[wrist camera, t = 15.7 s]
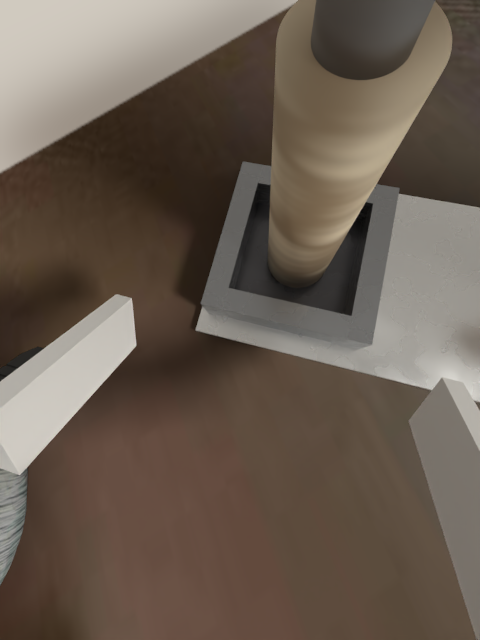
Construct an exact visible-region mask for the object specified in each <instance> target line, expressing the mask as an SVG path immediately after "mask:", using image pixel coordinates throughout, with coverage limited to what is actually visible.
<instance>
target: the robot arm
mask: <svg viewBox="0 0 480 640" xmlns="http://www.w3.org/2000/svg"><path fill="white" fill-rule="evenodd" d="M135 347H136V336H135V325H134V315H133V305H132V298H129V297H125V296H121V295H117V294H116V295H115V296H113V297H112V298H111V299H109V300H108V301H107V302H105V303H104V304H103V305H101V306H100V307H99V308H97V309H96V310H95V311H93V312H92V313H91V314H89V315H88V316H87V317H85V318H84V319H83V320H81V321H80V322H79V323H77V324H76V325H75V326H73V327H72V328H71V329H69V330H68V331H67V332H65V333H64V334H63V335H61V336H60V337H59V338H57V339H56V340H55V341H53V342H52V343H51V344H49V345H48V346H47V347H46V348H41V347H36V348H34V349H31V350H29V351H27V352H24V353H22V354H20V355H19V356H17V357H16V358H14V359H13V360H12V361H10V362H9V363H7V365H6V366H3V367H2V368H0V468H1V469H4V470H7V471H9V472H12V473H15V474H18V475H21V474H22V472H23V471H24V470H25V469H26V468H27V467H28V466H29V465H30V464H31V462H32V461H33V460H34V459H35V458H36V457H37V456H38V455H39V454H40V452H41V451H42V450H43V449H44V448H45V447H46V446H47V445H48V444H49V442H50V441H51V440H52V439H53V438H54V437H55V436H56V435H57V434H58V432H59V431H60V430H61V429H62V428H63V427H64V426H65V425H66V423H67V422H68V421H69V420H70V419H71V418H72V417H73V416H74V415H75V413H76V412H77V411H78V410H79V409H80V408H81V407H82V406H83V405H84V403H85V402H86V401H87V400H88V399H89V398H90V397H91V396H92V395H93V393H94V392H95V391H96V390H97V389H98V388H99V387H100V386H101V385H102V383H103V382H104V381H105V380H106V379H107V378H108V377H109V376H110V375H111V373H112V372H113V371H114V370H115V369H116V368H117V367H118V366H119V365H120V363H121V362H122V361H123V360H124V359H125V358H126V357H127V356H128V355H129V353H130V352H131V351H132V350H133V349H134V348H135ZM409 424H410V427H411V430H412V433H413V437H414V440H415V443H416V446H417V450H418V453H419V456H420V459H421V462H422V466H423V469H424V472H425V475H426V479H427V482H428V485H429V488H430V491H431V495H432V498H433V501H434V504H435V508H436V511H437V514H438V517H439V520H440V524H441V527H442V530H443V533H444V537H445V540H446V543H447V546H448V549H449V553H450V556H451V559H452V562H453V566H454V569H455V572H456V575H457V578H458V582H459V585H460V588H461V591H462V595H463V598H464V601H465V604H466V607H467V611H468V614H469V617H470V620H471V624H472V627H473V630H474V633H475V636H476V639H478V640H480V411H479V409H478V407H477V405H476V404H475V402H474V400H473V399H472V397H471V395H470V393H469V392H468V390H467V388H466V387H465V385H464V383H463V382H459V381H456V380H452V379H448V378H444V377H442V378H441V379H440V380H439V382H438V383H437V384H436V386H435V387H434V388H433V390H432V391H431V392H430V394H429V395H428V396H427V397H426V399H425V400H424V401H423V403H422V404H421V405H420V407H419V408H418V409H417V411H416V412H415V413H414V414H413V416H412V417H411V418H410V420H409Z"/></svg>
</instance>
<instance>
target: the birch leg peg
mask: <svg viewBox="0 0 480 640" xmlns="http://www.w3.org/2000/svg"><path fill="white" fill-rule="evenodd" d="M451 49H452V33H451V28H450V25H449V22H448V20H447V17H446V15H445V13H444V12H443V11H442V9H441V8H440V6H439V5H438V4H437V3H436V2H435V0H298V1H297V2H296V3H295V4H294V5H293V6H292V7H291V8H290V10H289V11H288V12H287V14H286V15H285V17H284V19H283V20H282V22H281V25H280V27H279V30H278V34H277V40H276V64H275V89H274V114H273V139H272V164H271V189H270V214H269V239H268V267H269V270H270V272H271V274H272V275H273V277H274V278H275V279H276V280H277V281H279V282H280V283H282V284H283V285H286V286H288V287H293V288H303V287H307V286H310V285H312V284H314V283H315V282H317V281H318V280H319V279H320V278H321V277H322V276H323V274H324V272H325V271H326V269H327V267H328V266H329V264H330V262H331V260H332V259H333V257H334V255H335V254H336V252H337V250H338V249H339V247H340V245H341V243H342V242H343V240H344V238H345V237H346V235H347V233H348V232H349V230H350V228H351V226H352V225H353V223H354V221H355V220H356V218H357V216H358V215H359V213H360V211H361V209H362V208H363V206H364V204H365V203H366V201H367V199H368V198H369V196H370V194H371V192H372V191H373V189H374V187H375V186H376V184H377V182H378V181H379V179H380V177H381V175H382V174H383V172H384V170H385V169H386V167H387V165H388V164H389V162H390V160H391V158H392V157H393V155H394V153H395V152H396V150H397V148H398V147H399V145H400V143H401V141H402V140H403V138H404V136H405V135H406V133H407V131H408V130H409V128H410V126H411V124H412V123H413V121H414V119H415V118H416V116H417V114H418V113H419V111H420V109H421V107H422V106H423V104H424V102H425V101H426V99H427V97H428V96H429V94H430V92H431V90H432V89H433V87H434V85H435V84H436V82H437V80H438V79H439V77H440V75H441V73H442V72H443V70H444V68H445V67H446V64H447V62H448V60H449V57H450V53H451Z"/></svg>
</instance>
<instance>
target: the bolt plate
mask: <svg viewBox="0 0 480 640" xmlns="http://www.w3.org/2000/svg"><path fill="white" fill-rule="evenodd" d="M270 189H271V166H267V165H261V164H255V163H249V162H243V163H242V166H241V169H240V173H239V176H238V179H237V183H236V186H235V190H234V193H233V196H232V200H231V203H230V206H229V210H228V213H227V217H226V220H225V223H224V227H223V230H222V233H221V237H220V240H219V244H218V247H217V250H216V254H215V257H214V260H213V264H212V267H211V271H210V274H209V277H208V281H207V284H206V287H205V291H204V294H203V298H202V301H201V305H202V309H201V313H200V316H199V320H198V323H197V326H196V331H197V332H201V333H205V334H209V335H213V336H217V337H221V338H225V339H228V340H232V341H236V342H240V343H244V344H248V345H252V346H256V347H260V348H264V349H268V350H272V351H276V352H280V353H284V354H288V355H292V356H296V357H300V358H304V359H308V360H312V361H315V362H319V363H323V364H327V365H331V366H335V367H339V368H343V369H347V370H351V371H355V372H359V373H363V374H367V375H371V376H375V377H379V378H383V379H387V380H391V381H395V382H398V383H402V384H406V385H410V386H414V387H418V388H422V389H426V390H430V391H432V390H433V388H434V387H435V386H436V384H437V383H438V382H439V380H440V379H441V378H442V377H444V378H448V379H452V380H456V381H459V382H463V383H464V385H465V387H466V388H467V390H468V392H469V393H470V395H471V397H472V399H473V400H474V402H478V403H480V208H479V207H473V206H467V205H461V204H456V203H450V202H444V201H438V200H432V199H427V198H421V197H415V196H409V195H403V194H399V189H400V188H396V187H390V186H385V185H379V184H376V186H375V187H374V189H373V191H372V192H371V194H370V196H369V198H368V199H367V201H366V203H365V204H364V206H363V208H362V209H361V211H360V213H359V215H358V216H357V218H356V220H355V221H354V223H353V225H352V226H351V228H350V230H349V232H348V233H347V235H346V237H345V238H344V240H343V242H342V243H341V245H340V247H339V249H338V250H337V252H336V254H335V255H334V257H333V259H332V260H331V262H330V264H329V266H328V267H327V269H326V271H325V272H324V274H323V276H322V277H321V278H320V279H319V280H318V281H317V282H315V283H314V284H312V285H310V286H307V287H303V288H293V287H288V286H286V285H283V284H282V283H280V282H279V281H277V280H276V279H275V278H274V277H273V275H272V274H271V272H270V270H269V267H268V239H269V214H270Z"/></svg>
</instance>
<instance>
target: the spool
mask: <svg viewBox="0 0 480 640" xmlns="http://www.w3.org/2000/svg"><path fill="white" fill-rule="evenodd" d="M27 478H28V470H27V468H26V469H25V470H24V471H23V472H22V474H21V475H18V474H15V473H12V472H9V471H7V470H4V469H1V468H0V585H1V583H2V581H3V579H4V577H5V576H6V574H7V572H8V570H9V568H10V566H11V563H12V561H13V558H14V556H15V553H16V549H17V546H18V544H19V541H20V538H21V535H22V531H23V526H24V521H25V515H26V505H27Z"/></svg>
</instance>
